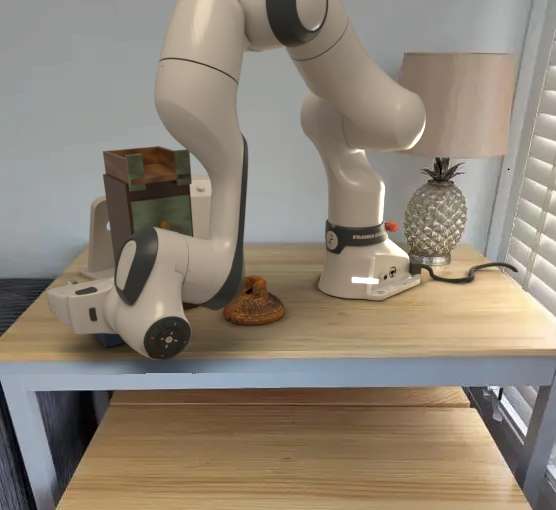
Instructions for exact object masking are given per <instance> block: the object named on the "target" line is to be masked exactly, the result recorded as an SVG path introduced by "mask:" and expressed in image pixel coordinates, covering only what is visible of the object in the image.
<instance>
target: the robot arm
mask: <svg viewBox="0 0 556 510" xmlns="http://www.w3.org/2000/svg"><path fill="white" fill-rule="evenodd" d="M168 21H169V22H168V25H167V27H166V31H165V35H164V37H163V38H164V39H163V42H162V45H161V50H160V55H159V60H158V64H157V71H156V76H155V81H154V91H153V92H154V93H153V94H154V95H153V97H154V99H153V100H154V107H155V110H156V113H157V115H158V118H159V120H160V121H161V123H162V125H163V127H164V128H165V130H166V131H167V132H168V133H169V134H170V136H172V138H173V139H174V140H175V141H176V142H177V143H178V144H180V145H181V146H182V147H183V148H184V149H187V150H188V151H189V152H190V154H192V156H193V157H195V159H196V160H197V161H198V162H199V163H200V164H201V165H202V167H203V168H204V169H205V171H206V173H207V175H209V178H210V181H211V188H212V191H211V210H210V230H209V237H208V239H207V240H203V239H199V238H195V237H191V236H187V235H183V234H179V233H178V232H174V231H170V230H166V229H161V228H157V227H152V226H145V227H143V228H141V229H139V230H138V231H136V232H135V233H134V234H133V235H131V236H130V237H129V238H128V239H127V240H126V241H125V243H124V244H123V245H122V247H121V249H120V252H119V254H118V258H117V261H116V266H115V274H114V277H109V278H103V279H98V280H89V281H83V282H78V281H77V280H76V279H72V280H67V281H66V282H65V285H62V286H57V287H52V288H49V289H48V290H47V291H46V299H47V305H48V309H49V311H50V313H51V314H52V315H53V316H54V317H55V318H56V319H57V320H58V321H59V322H61V323H62V324H64V325H67V326H69V327H70V326H71V327H72V330H73V332H74V333H75V334H76V335H91V334H92V335H94V333H110V334H119V335H120V336H121V338H122V339H123V340H124V341H125V342H126V343H125V344H127V345H128V346H129V347H130V348H132V350H134V351H135V352H137V353H138V354H139V355H141V356H144V357H146V358H147V359H150V360H155V361H163V360H165V361H166V360H169V359H173V358H174V357H176V356H178V355H180V354H181V353H183V352H184V351H185V350H186V348H187V347H188V346H189V344H190V342H191V340H192V337H193V336H192V335H193V331H192V326H191V323H190V321H189V319H188V318H187V316H186V314H185V310H183V305H182V302H187V303H193V304H194V305H197V306H199V307H201V308H204V309H208V310H212V311H220V310H222V309H224V307H225V306H227V305H229V304H230V303H231V302H232V301H234V300H235V299H236V298H237V297H238V295H239V294H240V293H241V291H242V289H243V286H244V282H245V277H246V264H245V253H244V251H245V250H244V241H245V225H246V212H247V211H246V210H247V196H248V195H247V194H248V181H249V180H248V179H249V146H248V142H247V139H246V137H245V135H244V134H243V132H242V131H241V127H240V124H239V118H238V110H237V109H238V108H237V107H238V106H237V98H238V89H239V85H240V79H241V74H242V65H243V58H244V53H260V52H264V51H272V50H277V49H282V48H284V49H285V51H286V52H287V54H288V57H289V58H290V59H291V61H292V63H293V65H294V66H295V68H296V70H297V71H298V72H297V73H299V75H300V77H301V79H302V80H303V83H304V84H305V86H306V87H307V88H308V90H309V91H310V92H308V94H307V95H305V98H304V99H303V101H302V104H301V107H300V113H299V120H300V126H301V129H302V132H303V133H304V135H305V136H306V138H308V140H310V142H311V143H312V144H313V146H314V147H315V149H316V150H317V152H318V154H319V157H320V159H321V162H322V165H323V168H324V172H325V175H326V181H327V219H326V220H325V228H324V241H325V252H324V258H323V259H324V260H323V264H322V269H321V274H320V277H319V281H318V284H317V288H318V289H319V290H320V291H321V292H323V293H324V294H326V295H329V296H333V297H336V298H341V299H342V298H343V299H354V300H356V299H357V300H358V299H359V300H370V301H383V300H386V299H388V298H390V297H393V296H394V295H397V294H400V293H401V292H404V291H406V290H409V289H411V288H415V286H418V285H420V284H421V278H420V277H419V276H418V275H421V274H422V269H425V270H426V271H427V272H428V274H429V277H430V278H432V279H433V280H435V281H438V282H439V281H440V282H446V283H453V284H454V283H455V284H457V283H458V284H459V283H466V282H470V281H473V280H474V279H475V277H476V275H475V271H477V270H481V269H487V268H492V267H502V268H507V269H508V270H510V271H512V272H513V273H519V270H518V269H517V267H515V266H514V265H513V264H511V263H508V262H503V261H501V262H500V261H496V262H495V261H494V262H487V263H482V264H477V265H473V266H471V267H470V269H469V275H470V276H465V277H460V278H459V277H457V278H447V277H441V276H438V275H436V274H435V273H434V270H433V268H432V267H431V266H430V265H428V264H426V263H425V264H424V263H422V262H420V261H419V260H418V259H416V258H415V257H414V256H409V255H408V253H407V252H406V251H404V250H403V249H402V248H401V247H399V245H397V244H396V243H395V242H394V241H393V240H391V239H390V238H389V234H388V232H391V233H393V234H394V233H397V231H398V230H399V224H398V223H397V222H393V221H392V220H390V221H389V220H388V221H387V222H386V221H385V220H384V207H385V195H386V185H385V181H384V178H383V177H382V175H380V173H378V172H377V171H376V170H375V169H374V168H373V167H372V166H371V164H370V162H369V160H368V158H367V154H366V151H370V152H378V153H392V152H393V153H394V152H401V151H407V150H410V149H411V148H413V147H414V146H415V145H416V144H417V143H418V142H419V140H420V139H421V137H422V135H423V133H424V130H425V127H426V122H427V112H426V107H425V105H424V102H423V100H422V98H421V96H420V95H418V94H417V93H415V92H413V91H411V90H410V89H408V88H406V87H404V86H402V85H401V84H399V83H398V82H396V81H395V80H394V79H393V78H392V77H390V75H389V74H387V72H385V71H384V70H383V68H381V67H380V65H378V64H377V63H376V61H375V60H374V59H373V58H372V57H371V56H370V55H369V54H368V52H367V50H366V49H365V47H364V45H363V44H362V41H361V39H360V37H359V35H358V33H357V32H356V29H355V27H354V26H353V23H352V21H351V19H350V17H349V14H348V12H347V10H346V8H345V6H344V4H343V2H342V0H176V3H175V6H174V8H173V10H172V13H171V15H170V19H169V20H168ZM503 393H504V388H503V387H500V388H499V390H498V393H497V394H498V395H497V401H499V402H501V401H502V399H503Z"/></svg>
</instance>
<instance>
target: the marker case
mask: <svg viewBox="0 0 556 510" xmlns="http://www.w3.org/2000/svg"><path fill="white" fill-rule="evenodd" d="M93 336H94V337H95V338H96V339H97V340H98V341H99V342H100V343H101V344H102V345H103V346H104V348H109V347H113V346H117V345H121V344H127V343H126V342H125V341H124V340H123V339H122V338H121V336H120V335H119V334H110V333H94V334H93Z"/></svg>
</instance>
